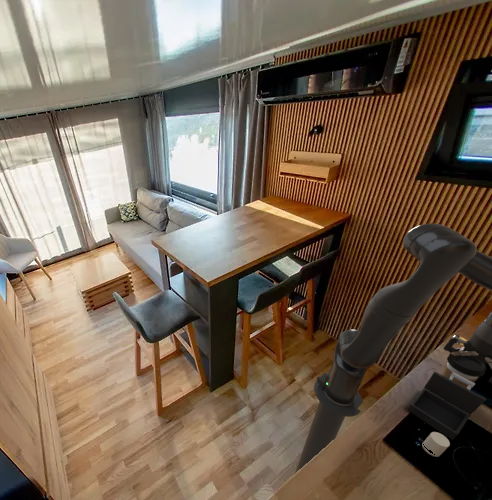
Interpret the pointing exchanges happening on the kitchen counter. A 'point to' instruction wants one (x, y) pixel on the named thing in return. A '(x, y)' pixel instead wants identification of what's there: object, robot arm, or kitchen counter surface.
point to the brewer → (438, 413)
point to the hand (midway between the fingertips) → (470, 370)
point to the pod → (436, 444)
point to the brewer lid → (455, 392)
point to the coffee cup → (464, 369)
